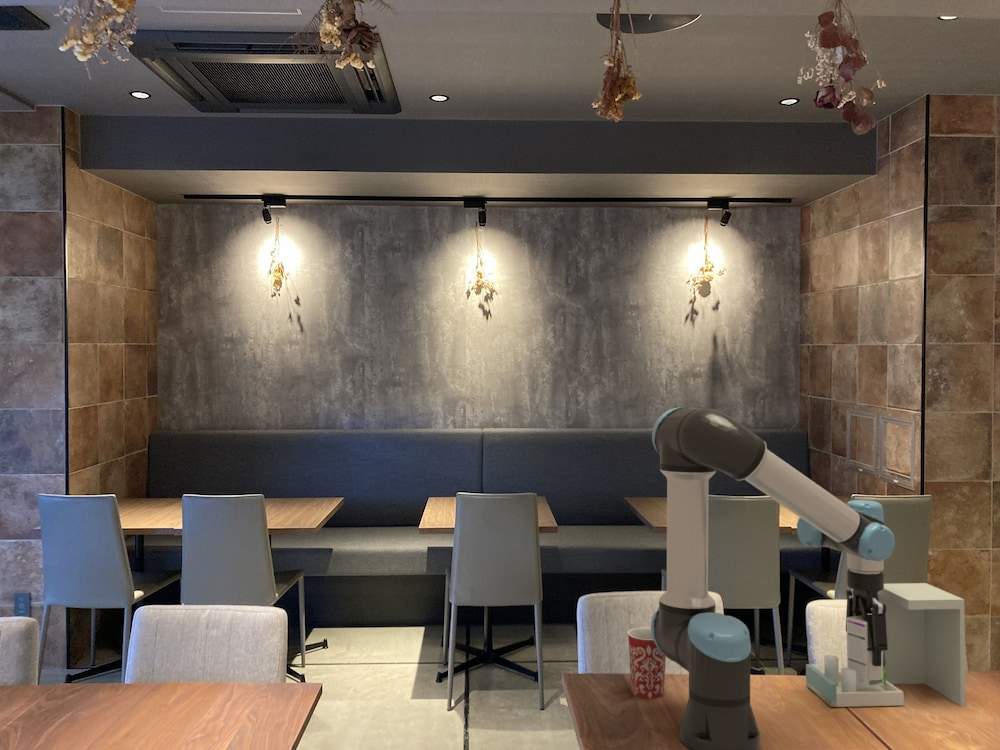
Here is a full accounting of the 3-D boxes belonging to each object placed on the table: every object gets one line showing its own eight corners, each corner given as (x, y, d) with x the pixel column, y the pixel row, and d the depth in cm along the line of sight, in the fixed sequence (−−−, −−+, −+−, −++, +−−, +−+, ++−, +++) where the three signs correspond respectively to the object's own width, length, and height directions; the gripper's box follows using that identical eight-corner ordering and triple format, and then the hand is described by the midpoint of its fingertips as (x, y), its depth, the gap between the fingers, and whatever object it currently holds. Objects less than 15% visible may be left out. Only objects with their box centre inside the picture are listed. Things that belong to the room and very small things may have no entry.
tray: (831, 706, 181) (830, 674, 181) (806, 685, 194) (805, 654, 194) (903, 705, 182) (903, 672, 182) (873, 683, 195) (873, 653, 195)
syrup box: (867, 689, 184) (867, 622, 184) (846, 680, 189) (846, 615, 189) (886, 685, 186) (886, 619, 187) (864, 676, 192) (864, 612, 192)
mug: (671, 700, 185) (670, 639, 186) (629, 700, 186) (629, 638, 186) (663, 680, 198) (662, 623, 198) (624, 679, 198) (624, 622, 199)
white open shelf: (909, 707, 181) (908, 600, 181) (874, 682, 196) (874, 583, 196) (965, 706, 182) (964, 599, 182) (926, 681, 197) (925, 583, 197)
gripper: (905, 580, 178) (906, 689, 178) (860, 560, 198) (861, 658, 198) (870, 581, 178) (871, 690, 178) (829, 561, 198) (829, 659, 198)
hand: (866, 673), depth 188 cm, fingers closed on syrup box, 7 cm apart
